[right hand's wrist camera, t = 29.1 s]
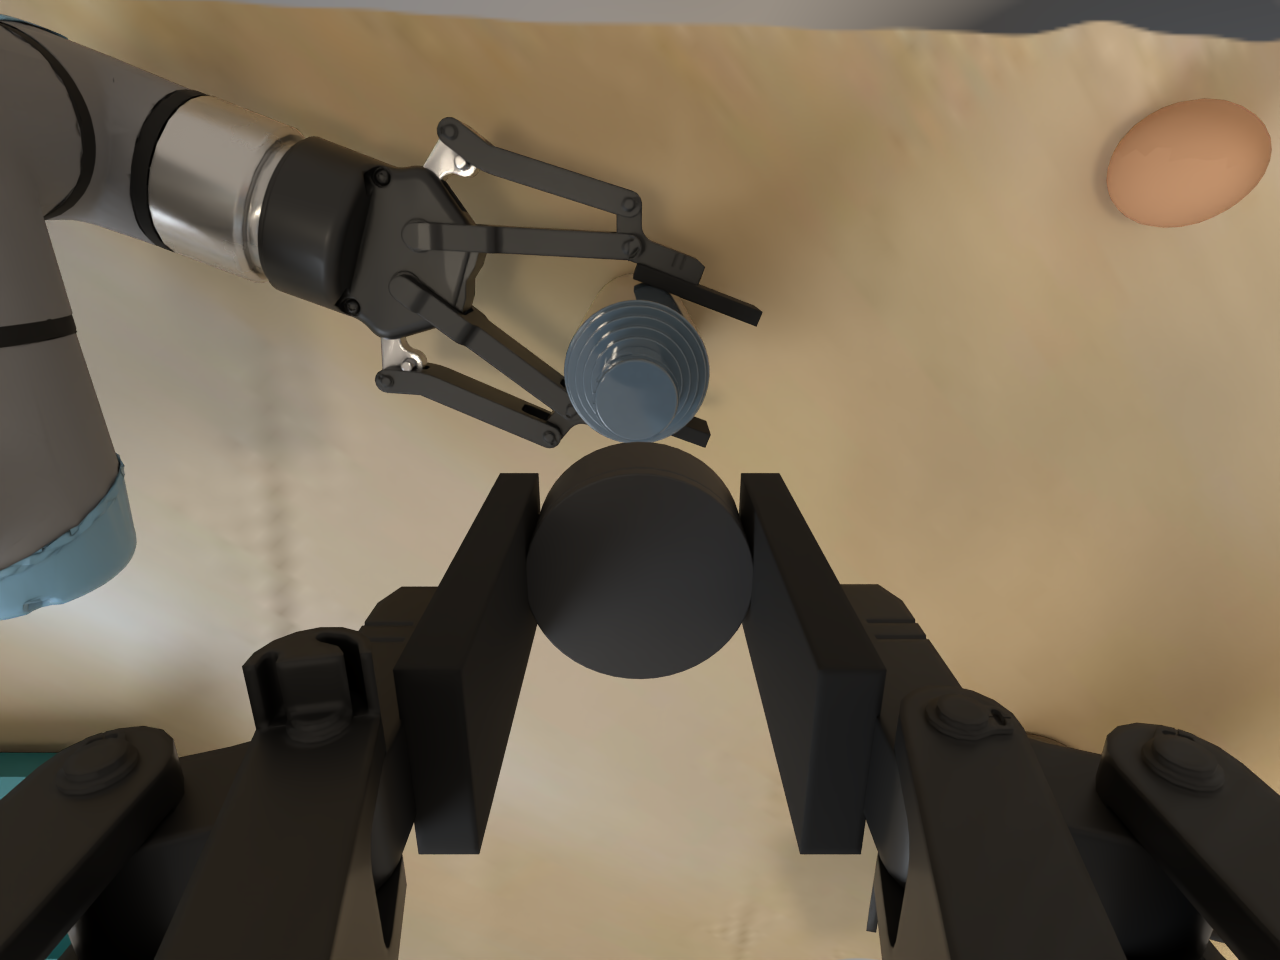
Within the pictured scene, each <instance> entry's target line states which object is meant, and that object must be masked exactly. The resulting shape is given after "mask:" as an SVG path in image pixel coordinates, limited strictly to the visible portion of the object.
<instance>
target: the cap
mask: <svg viewBox="0 0 1280 960" xmlns="http://www.w3.org/2000/svg"><path fill="white" fill-rule="evenodd" d="M526 571H527V588H528V602H529V607H530V610H531V612H532V614H533V616H534V618H535V620H536V622H537V624H538V625H539V627H540V628H541V630H542V632H543V633H544V634H545V636H546V637H547V638H548V639H549V640H550V641H551V642H552V644H553V645H554V646H556V647H557V648H558V649H559V650H560V651H561V652H562V653H563V654H565V655H566V656H568V657H569V658H571V659H572V660H574V661H575V662H577V663H579V664H581V665H583V666H585V667H586V668H589V669H591V670H594V671H597V672H599V673H603V674H606V675H610V676H614V677H621V678H628V679H648V678H658V677H664V676H669V675H673V674H676V673H679V672H682V671H685V670H687V669H690V668H692V667H694V666H696V665H698V664H700V663H702V662H703V661H705V660H707V659H708V658H710V657H711V656H712V655H714V654H715V653H716V652H718V651H719V650H720V649H721V648H722V647H723V646H724V645H725V644H726V643H727V642H728V641H729V640H730V639H731V638H732V636H733V635H734V634H735V633H736V631H737V630H738V628H739V627H740V625H741V623H742V622H743V620H744V618H745V616H746V614H747V611H748V609H749V606H750V603H751V595H752V580H753V557H752V552H751V549H750V546H749V543H748V540H747V537H746V534H745V531H744V528H743V525H742V522H741V519H740V516H739V513H738V510H737V507H736V504H735V501H734V499H733V497H732V495H731V493H730V491H729V490H728V488H727V487H726V485H725V484H724V483H723V481H722V480H721V479H720V477H719V476H718V475H717V474H716V473H715V472H714V471H713V470H712V469H711V468H710V467H708V466H707V465H706V464H705V463H703V462H702V461H701V460H699V459H697V458H696V457H694V456H693V455H691V454H689V453H687V452H684V451H682V450H680V449H677V448H674V447H671V446H668V445H664V444H658V443H652V442H628V443H620V444H616V445H611V446H608V447H605V448H602V449H599V450H596V451H594V452H592V453H590V454H588V455H586V456H584V457H583V458H581V459H580V460H578V461H577V462H575V463H574V464H573V465H572V466H570V467H569V468H568V469H567V470H566V471H565V472H564V473H563V474H562V475H561V476H560V477H559V479H558V480H557V481H556V482H555V483H554V485H553V487H552V488H551V490H550V491H549V493H548V495H547V497H546V499H545V501H544V504H543V506H542V509H541V512H540V515H539V518H538V521H537V524H536V527H535V530H534V533H533V536H532V538H531V541H530V545H529V548H528V551H527V555H526Z"/></svg>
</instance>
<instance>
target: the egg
mask: <svg viewBox="0 0 1280 960" xmlns="http://www.w3.org/2000/svg"><path fill="white" fill-rule="evenodd" d="M1271 151H1272V147H1271V139H1270V135H1269V133H1268V131H1267V129H1266V127H1265V125H1264V123H1263V122H1262V121H1261V120H1260V119H1259V118H1258V117H1257V116H1256V115H1255V114H1254V113H1252V112H1251V111H1249V110H1248V109H1246V108H1244V107H1243V106H1241V105H1238V104H1235V103H1232V102H1229V101H1226V100H1217V99H1198V100H1191V101H1184V102H1178V103H1175V104H1172V105H1170V106H1167V107H1164V108H1161V109H1159V110H1158V111H1156V112H1154V113H1152V114H1150V115H1148V116H1147V117H1146V118H1144V119H1143V120H1141V121H1140V122H1139V123H1137V124H1136V125H1135V126H1134V127H1133V128H1132V129H1131V130H1130V131H1129V132H1128V133H1127V134H1126V135H1125V136H1124V138H1123V139H1122V140H1121V141H1120V142H1119V144H1118V146H1117V147H1116V149H1115V151H1114V153H1113V155H1112V158H1111V161H1110V164H1109V167H1108V172H1107V186H1108V191H1109V195H1110V197H1111V199H1112V201H1113V203H1114V204H1115V205H1116V207H1117V208H1118V210H1119V211H1121V212H1122V213H1123V214H1124V215H1125V216H1126V217H1128V218H1130V219H1132V220H1134V221H1136V222H1138V223H1140V224H1144V225H1149V226H1156V227H1163V228H1166V227H1182V226H1187V225H1191V224H1196V223H1200V222H1202V221H1205V220H1207V219H1210V218H1212V217H1215V216H1216V215H1218V214H1220V213H1222V212H1224V211H1226V210H1228V209H1229V208H1231V207H1232V206H1234V205H1235V204H1237V203H1238V202H1239V201H1240V200H1242V199H1243V198H1244V197H1245V196H1246V195H1247V194H1249V193H1250V191H1251V190H1252V189H1253V188H1254V187H1255V186H1256V185H1257V184H1258V183H1259V181H1260V180H1261V178H1262V177H1263V175H1264V174H1265V171H1266V169H1267V166H1268V164H1269V162H1270V157H1271Z"/></svg>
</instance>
